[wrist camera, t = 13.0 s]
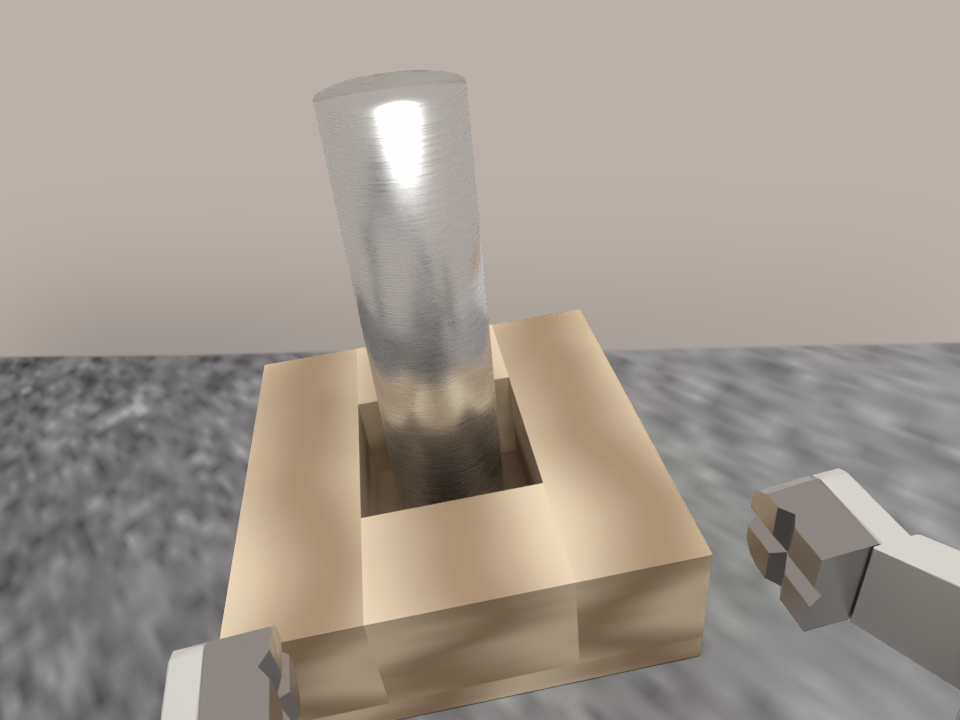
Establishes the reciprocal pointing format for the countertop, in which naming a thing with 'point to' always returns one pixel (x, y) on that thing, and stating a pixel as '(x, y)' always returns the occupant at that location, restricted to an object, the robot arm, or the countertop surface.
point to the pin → (417, 275)
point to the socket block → (464, 539)
